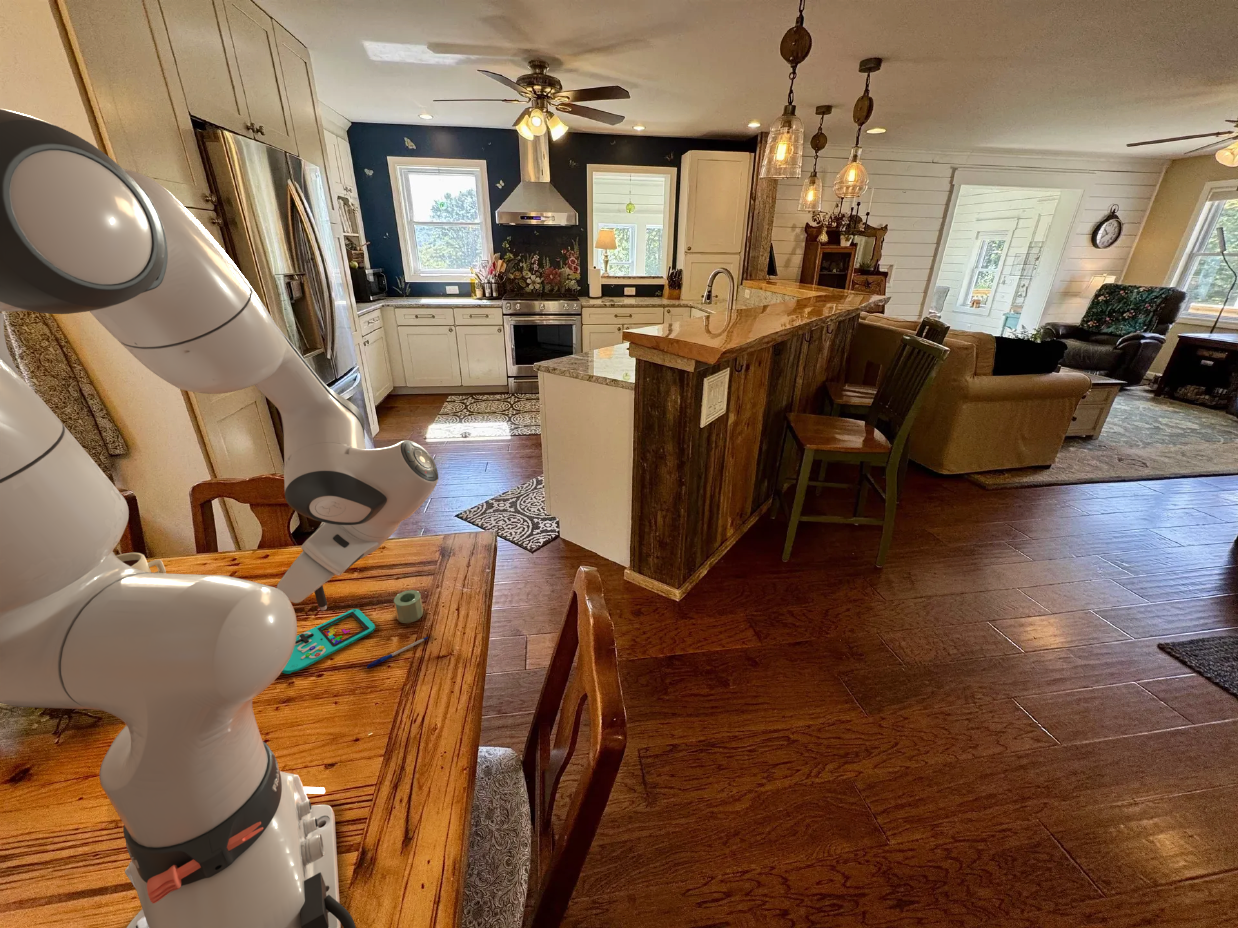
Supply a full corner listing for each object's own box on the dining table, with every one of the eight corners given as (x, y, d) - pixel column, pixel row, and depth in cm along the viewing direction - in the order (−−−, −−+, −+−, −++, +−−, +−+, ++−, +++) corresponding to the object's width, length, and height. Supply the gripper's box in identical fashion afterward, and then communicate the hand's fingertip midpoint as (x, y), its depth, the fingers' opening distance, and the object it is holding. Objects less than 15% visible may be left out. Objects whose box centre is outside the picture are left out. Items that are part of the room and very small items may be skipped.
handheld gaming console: (266, 648, 84) (356, 606, 95) (268, 653, 85) (357, 610, 95) (284, 674, 79) (377, 626, 90) (286, 679, 80) (378, 630, 90)
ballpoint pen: (368, 671, 82) (367, 667, 81) (366, 668, 82) (365, 664, 82) (429, 640, 89) (428, 635, 88) (426, 637, 89) (426, 633, 89)
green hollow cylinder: (427, 617, 94) (424, 598, 92) (402, 628, 91) (399, 608, 89) (418, 605, 97) (414, 586, 95) (394, 615, 94) (390, 596, 93)
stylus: (329, 609, 81) (312, 546, 76) (320, 612, 80) (303, 549, 75) (327, 605, 81) (310, 543, 77) (318, 608, 81) (301, 546, 76)
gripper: (377, 481, 83) (333, 528, 87) (297, 547, 64) (245, 604, 68) (407, 505, 84) (362, 551, 88) (337, 578, 65) (284, 631, 70)
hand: (310, 575), depth 78 cm, fingers closed on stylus, 1 cm apart
